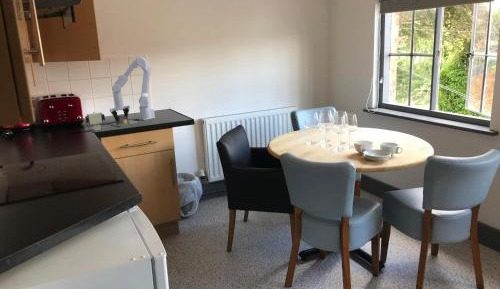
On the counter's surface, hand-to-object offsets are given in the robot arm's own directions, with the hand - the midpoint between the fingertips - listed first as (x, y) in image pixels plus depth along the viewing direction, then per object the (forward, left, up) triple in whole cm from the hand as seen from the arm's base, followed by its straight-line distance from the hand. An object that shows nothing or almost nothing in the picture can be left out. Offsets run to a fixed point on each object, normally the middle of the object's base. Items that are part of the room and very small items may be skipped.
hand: (121, 120), depth 290 cm
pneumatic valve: (+23, +9, -2) cm, 25 cm away
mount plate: (+3, +10, -1) cm, 11 cm away
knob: (0, 0, -1) cm, 1 cm away
